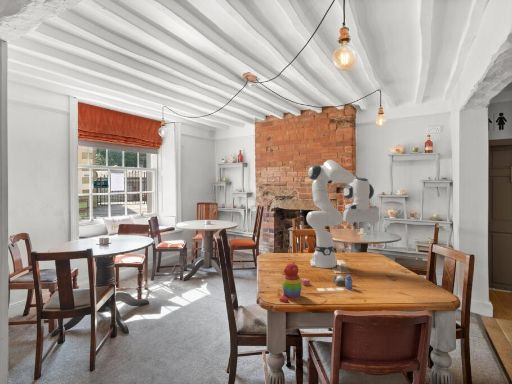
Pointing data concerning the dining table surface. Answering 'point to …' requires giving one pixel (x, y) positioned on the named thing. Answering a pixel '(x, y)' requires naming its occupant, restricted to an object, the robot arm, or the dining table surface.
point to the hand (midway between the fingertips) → (361, 229)
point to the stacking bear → (291, 283)
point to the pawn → (348, 282)
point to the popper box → (338, 281)
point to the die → (305, 282)
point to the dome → (339, 278)
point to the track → (330, 289)
